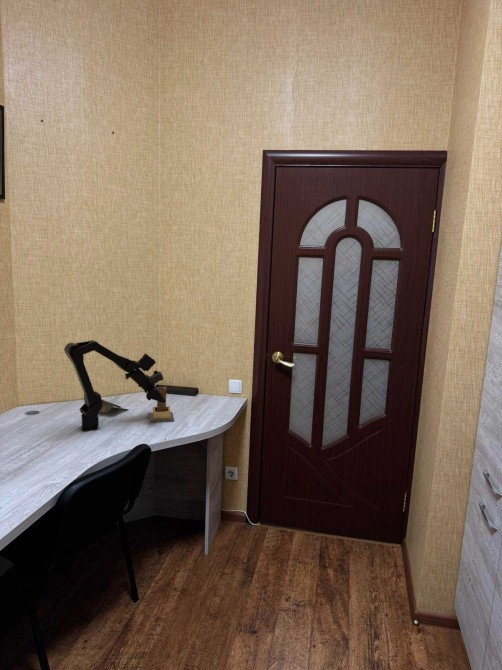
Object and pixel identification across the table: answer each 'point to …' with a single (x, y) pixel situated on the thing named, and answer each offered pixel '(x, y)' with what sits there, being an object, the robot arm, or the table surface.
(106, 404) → the wall
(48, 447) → the table surface
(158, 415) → the gold square frame
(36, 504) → the table surface
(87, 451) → the table surface
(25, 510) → the table surface
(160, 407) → the rail post
